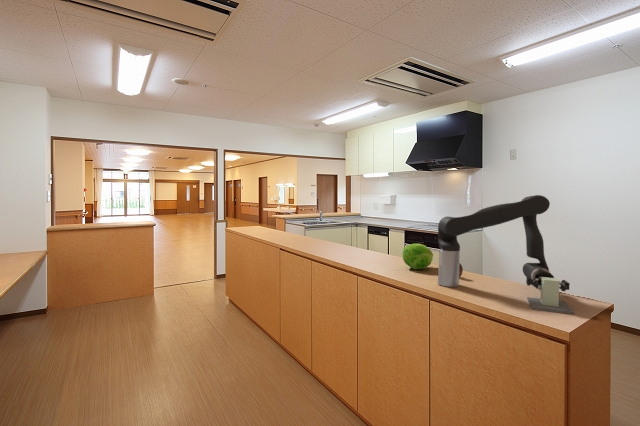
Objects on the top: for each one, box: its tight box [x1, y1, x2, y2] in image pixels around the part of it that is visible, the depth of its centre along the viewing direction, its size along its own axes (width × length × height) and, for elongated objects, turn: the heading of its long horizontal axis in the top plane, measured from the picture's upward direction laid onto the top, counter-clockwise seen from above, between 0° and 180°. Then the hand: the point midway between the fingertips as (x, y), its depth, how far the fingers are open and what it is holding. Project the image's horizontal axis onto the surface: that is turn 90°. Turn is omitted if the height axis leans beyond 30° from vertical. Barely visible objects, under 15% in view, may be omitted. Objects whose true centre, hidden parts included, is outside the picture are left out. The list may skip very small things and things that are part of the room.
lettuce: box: [402, 243, 434, 270], centre depth 194 cm, size 17×20×15 cm
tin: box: [459, 262, 464, 278], centre depth 177 cm, size 15×3×8 cm, turn 21°
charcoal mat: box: [526, 296, 575, 315], centre depth 128 cm, size 13×13×1 cm
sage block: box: [539, 277, 561, 307], centre depth 128 cm, size 5×5×10 cm
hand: (550, 287), depth 127 cm, fingers open, 8 cm apart
